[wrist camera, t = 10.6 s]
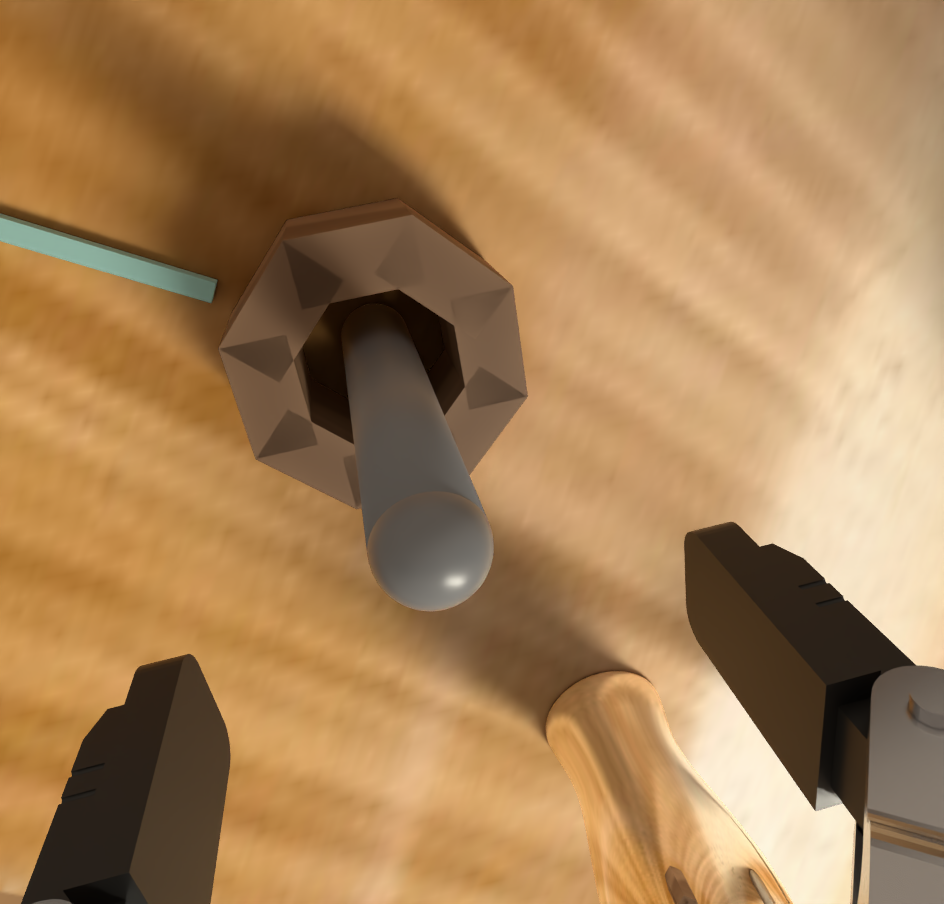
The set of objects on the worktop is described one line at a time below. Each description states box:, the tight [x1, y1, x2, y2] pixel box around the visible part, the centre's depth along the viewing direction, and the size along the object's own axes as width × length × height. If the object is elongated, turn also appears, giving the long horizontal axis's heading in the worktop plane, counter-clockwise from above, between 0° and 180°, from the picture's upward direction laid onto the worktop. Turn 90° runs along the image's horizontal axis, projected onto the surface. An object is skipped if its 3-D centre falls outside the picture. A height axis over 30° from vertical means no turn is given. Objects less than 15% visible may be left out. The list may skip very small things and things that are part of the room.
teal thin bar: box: [0, 213, 218, 303], centre depth 23 cm, size 10×1×1 cm, turn 69°
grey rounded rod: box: [341, 304, 494, 611], centre depth 19 cm, size 2×2×15 cm
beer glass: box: [546, 671, 794, 904], centre depth 30 cm, size 7×7×15 cm
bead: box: [218, 198, 528, 509], centre depth 24 cm, size 9×9×4 cm
